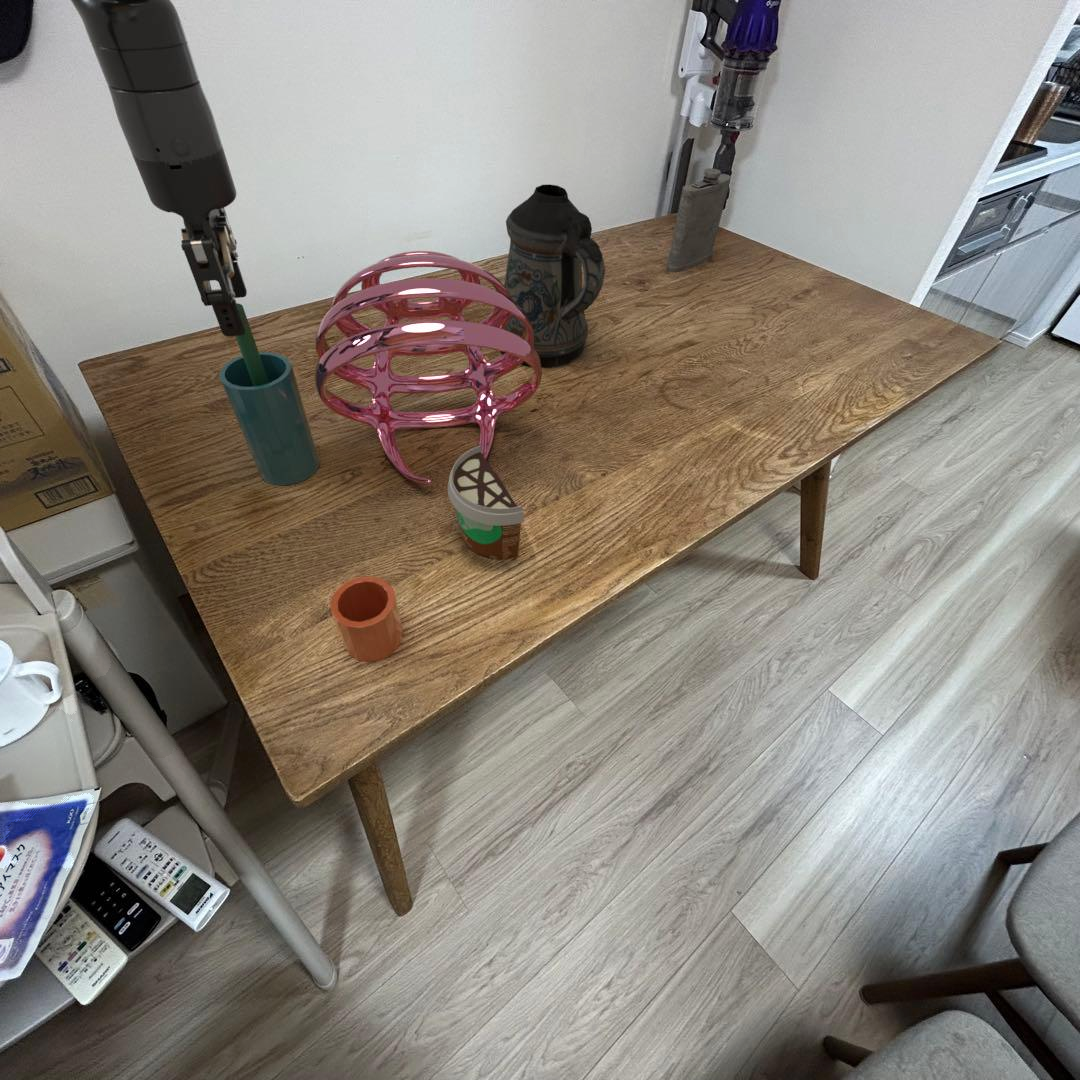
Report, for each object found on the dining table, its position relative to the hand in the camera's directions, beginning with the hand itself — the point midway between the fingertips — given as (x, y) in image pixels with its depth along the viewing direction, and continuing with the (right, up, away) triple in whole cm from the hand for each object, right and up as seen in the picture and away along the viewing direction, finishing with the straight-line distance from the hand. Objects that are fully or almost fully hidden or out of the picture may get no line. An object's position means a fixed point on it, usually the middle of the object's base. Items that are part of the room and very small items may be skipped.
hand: (236, 314), depth 66 cm
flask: (+67, +36, +65) cm, 100 cm away
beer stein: (+35, +9, +40) cm, 54 cm away
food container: (+26, -25, +9) cm, 37 cm away
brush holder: (+16, -36, -1) cm, 39 cm away
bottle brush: (-1, -14, +16) cm, 21 cm away
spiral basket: (+19, -11, +21) cm, 30 cm away
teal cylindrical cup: (-1, -15, +16) cm, 22 cm away
